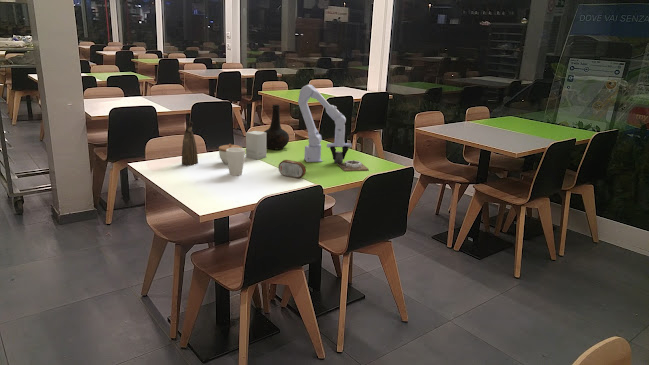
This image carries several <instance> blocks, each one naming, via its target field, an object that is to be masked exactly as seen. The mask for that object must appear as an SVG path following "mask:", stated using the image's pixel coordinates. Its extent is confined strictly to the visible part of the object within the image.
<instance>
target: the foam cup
mask: <svg viewBox="0 0 649 365" xmlns="http://www.w3.org/2000/svg"><path fill="white" fill-rule="evenodd" d="M226 155H227V160H228V164H227V165H228V172H229V175H230V176H233V177H238V176H242V175H243V169H244V160H245V156H246V148H243V147H242V148H228V149H226Z"/></svg>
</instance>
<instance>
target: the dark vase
mask: <svg viewBox="0 0 649 365" xmlns="http://www.w3.org/2000/svg"><path fill="white" fill-rule="evenodd" d="M271 109H272V114H271V121H270V125H269V127H268V129H266V130H264V131H263V132H266V133H267V134H266V149H269V150H282V149H284V148H285V147H286V146H287V145H288V144H289V142H290V135H289V133H288V132H287V131H286V130H285V129H282V126H281V118H280V117H281V116H280V115H281V114H280V112H281V111H280V110H281V109H282V107H281V106H280V104H272V107H271Z"/></svg>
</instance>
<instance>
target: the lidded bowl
mask: <svg viewBox="0 0 649 365" xmlns="http://www.w3.org/2000/svg"><path fill="white" fill-rule="evenodd" d="M228 148H243V147H242V146H241V145H237V144H232V143H229V144H223V145H220V146H219V147H218V153H219V158H220V160H221V161H222V162H223V164H224V165H228V160H227V155H226V149H228Z"/></svg>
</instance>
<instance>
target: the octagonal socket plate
mask: <svg viewBox="0 0 649 365" xmlns="http://www.w3.org/2000/svg"><path fill="white" fill-rule="evenodd" d="M337 166H338V167H339V168H341V170H343V171H344V172H358V171H359V172H361V171H369V170H370V169H369V168H368V167H367V166H366V165H365V164H364V163H362V162H361V161H359V160H355V159H352V160H351V159H348V160H345V161H343V163H337Z"/></svg>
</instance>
